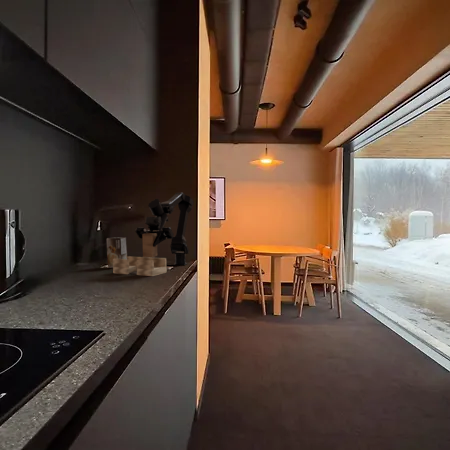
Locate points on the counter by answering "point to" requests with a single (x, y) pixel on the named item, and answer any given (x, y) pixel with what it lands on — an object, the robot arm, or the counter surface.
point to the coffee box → (116, 249)
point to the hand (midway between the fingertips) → (148, 246)
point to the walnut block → (149, 245)
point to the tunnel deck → (140, 266)
